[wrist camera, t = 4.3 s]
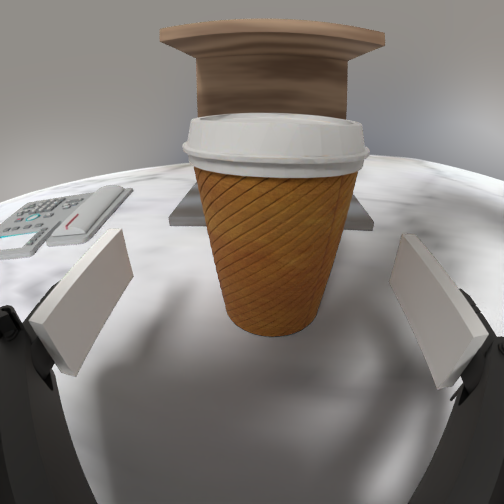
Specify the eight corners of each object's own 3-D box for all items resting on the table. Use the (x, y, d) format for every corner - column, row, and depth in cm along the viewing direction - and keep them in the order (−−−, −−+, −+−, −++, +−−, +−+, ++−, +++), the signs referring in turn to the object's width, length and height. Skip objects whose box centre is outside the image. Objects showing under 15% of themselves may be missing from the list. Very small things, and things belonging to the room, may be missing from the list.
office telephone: (132, 179, 42) (79, 237, 24) (134, 194, 43) (86, 259, 26) (25, 196, 39) (-41, 249, 22) (28, 209, 41) (-34, 265, 24)
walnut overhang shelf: (372, 230, 29) (388, 31, 18) (169, 225, 30) (156, 27, 19) (338, 182, 44) (344, 53, 34) (204, 179, 46) (199, 51, 35)
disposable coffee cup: (199, 272, 23) (185, 116, 17) (312, 260, 24) (324, 114, 18) (206, 368, 15) (172, 129, 8) (364, 340, 16) (412, 135, 10)
